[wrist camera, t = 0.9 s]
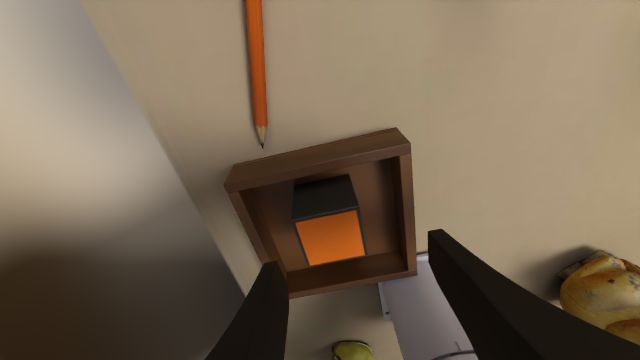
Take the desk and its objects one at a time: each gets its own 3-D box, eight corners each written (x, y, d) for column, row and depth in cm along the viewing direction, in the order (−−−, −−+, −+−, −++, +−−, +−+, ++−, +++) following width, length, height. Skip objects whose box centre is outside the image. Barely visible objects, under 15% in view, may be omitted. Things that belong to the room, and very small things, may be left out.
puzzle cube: (357, 217, 22) (368, 256, 19) (307, 228, 23) (307, 268, 19) (349, 173, 20) (359, 206, 16) (293, 185, 21) (290, 221, 17)
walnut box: (406, 250, 25) (417, 275, 23) (282, 274, 26) (279, 301, 24) (396, 127, 19) (411, 142, 16) (233, 164, 20) (222, 184, 17)
